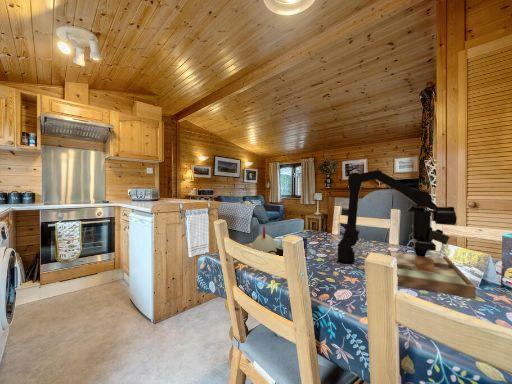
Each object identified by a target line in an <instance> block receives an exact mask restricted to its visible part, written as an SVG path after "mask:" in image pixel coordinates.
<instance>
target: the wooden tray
mask: <svg viewBox="0 0 512 384" xmlns="http://www.w3.org/2000/svg"><path fill="white" fill-rule="evenodd" d="M388 255H390V256H394V257H396V259H397V267H398V268H397V276H398V285H397V286H399V287H404V288H411V289H416V290H423V291H430V292H436V293H442V294H448V295H453V296H459V297H466V298H471V299H476V298H477V297H476V296H477V295H476V293H477V292H476V290H477V287H476V285H475V284H473V282H472V281H471V280H470V279H469V278H468V277H467V276H466V275H465V274H464V273H463V272H462V271H461V270H460V269H459V268H458V267H457V265H455V264H454V263H453V261H451V260H450V259H449V258H448V256H446V255H443V257H434V256H430V257H431V258H432V259H433V260H434V272H431V271H423V270H417V268H416V266H415V256H416V254H406V253H398V252H392V251H391V250H390V249H388V250H387V256H388ZM425 257H428V256H427V255H425Z"/></svg>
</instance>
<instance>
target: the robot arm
mask: <svg viewBox="0 0 512 384" xmlns="http://www.w3.org/2000/svg"><path fill="white" fill-rule="evenodd" d="M374 180H375V181H376V180H377V182H380V183H381V184H384V185H385V186H388V187H389V188H391V189H393V190H395V191H397V192H398V193H400V194H402V195H403V196H405V197H406V198H407V199H408V200H409V201H410V202H411V203H413V204H414V205H417V206H419V207H415V206H414V205H410V207H408V208H406V211H407V212H409V213H411V212H412V224H411V228H412V232H411V233H410V234H408V235H409V236H408V237H409V238H408V239H409V241H412V240H413V242H411V243H410V244H411V246H412V249H413V250H414V253H415V255H416V256H424V257H425V256H427V255H426V254H427V252H428V251H434V252H435V251H437V245H436V243H434V242H433V241H436V242H439V243H441V244H443V245H447V244H448V242H449V240H450V238H451V237H450V236H448V234H445V233H444V231H443V230H442V229H439V228H437V229H436V230H434V229H433V227H431V221H432V222H434V224H435V225H447V226H450V225H451V226H456V224H457V221H458V220H457V218H458V217H457V216H456V215H457V214H456V211H455V206H437V204H435V203H434V202H433V197H432V195H431V194H430V193H429V192H428V191H423V190H420V189H419V188H418V189H417V188H414V187H411V186H409V185H407V184H406V183H405V184H404V183H403V182H401V181H399V180H397V179H395V178H393V177H392V176H390V175H388V174H386V173H385V172H382V171H381V170H380V169H374V170H372V171H367V172H362V173H359V172H352V173H350V174H349V175H348V177H347V185H348V190H349V192H348V193H349V199H348V211H347V222H346V226H345V230H344V233H343V236H342V238H341V239H340V240H339V241H338V243H337V260H336V262H337V263H339V264H340V263H341V264H348V265H349V264H350V265H353V264H354V262H355V260H356V257H355V254H356V252H355V251H354V246H355V245H356V244H357V242H358V241H359V240H360V232H361V229H359V228H358V227H357V221H358V208H359V198H360V197H359V196H360V192H361V189H362V186H363V183H366V182H370V181H374ZM424 207H425V208H426V210H425V209H424ZM428 209H429V210H428Z"/></svg>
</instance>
